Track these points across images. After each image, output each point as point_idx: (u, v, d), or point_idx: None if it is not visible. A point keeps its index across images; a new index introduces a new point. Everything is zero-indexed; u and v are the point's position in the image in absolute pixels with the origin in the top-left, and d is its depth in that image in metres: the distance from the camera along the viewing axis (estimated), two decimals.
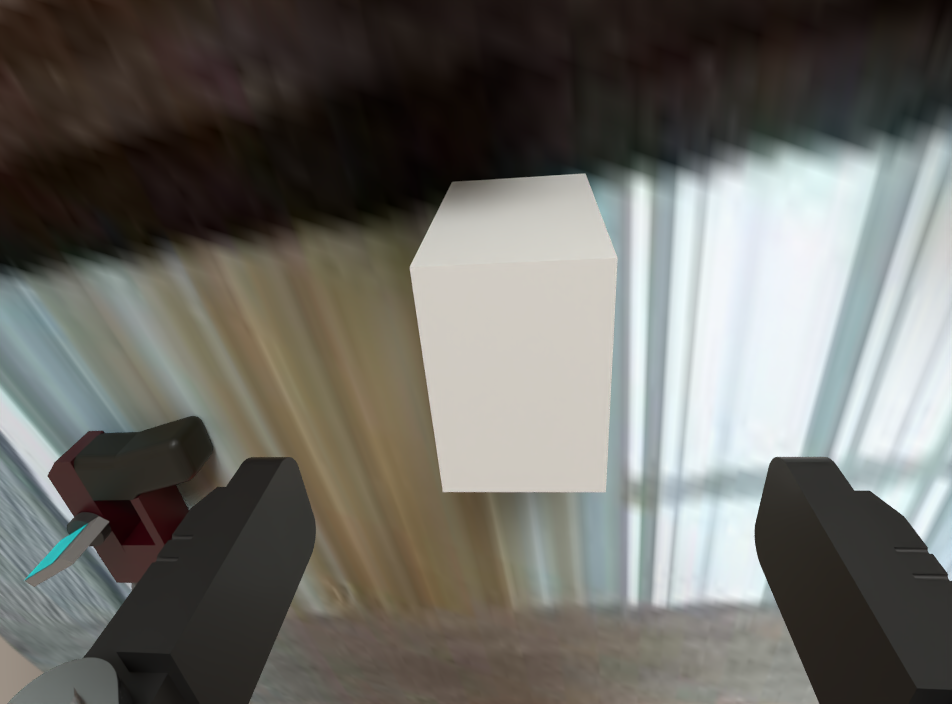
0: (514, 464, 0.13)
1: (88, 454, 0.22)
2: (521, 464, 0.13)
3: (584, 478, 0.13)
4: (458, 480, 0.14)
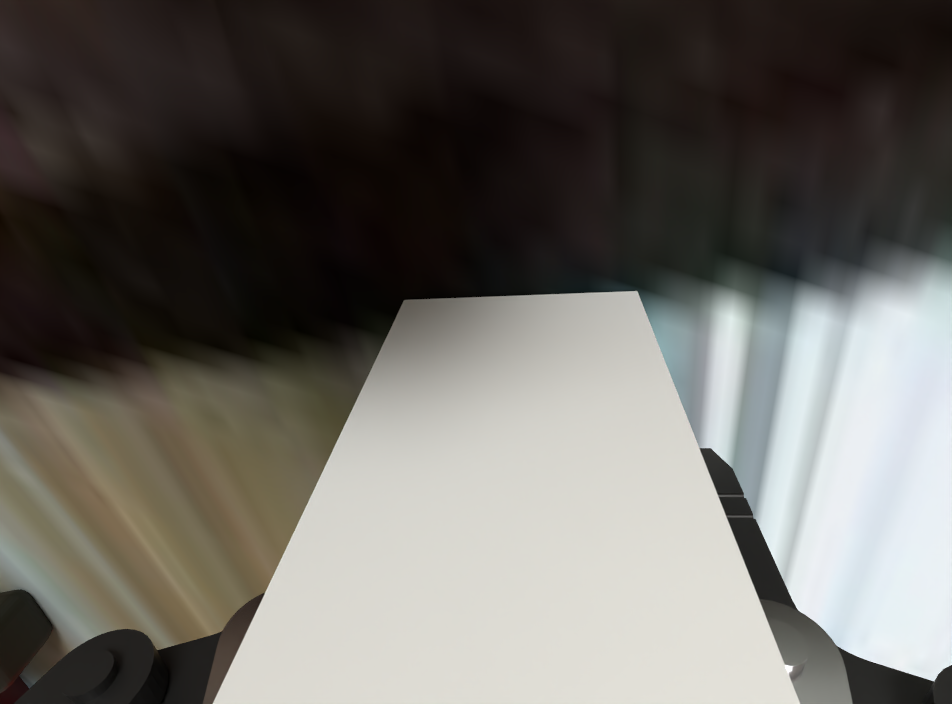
0: None
1: None
2: None
3: None
4: None
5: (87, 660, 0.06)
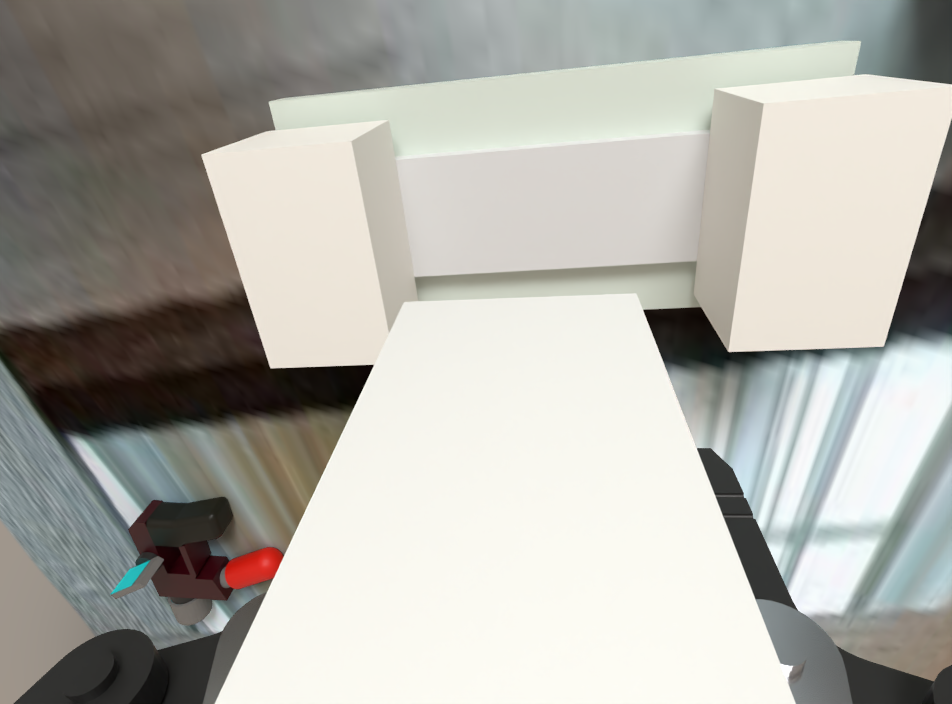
0: None
1: (155, 517, 0.36)
2: None
3: None
4: None
5: (88, 659, 0.06)
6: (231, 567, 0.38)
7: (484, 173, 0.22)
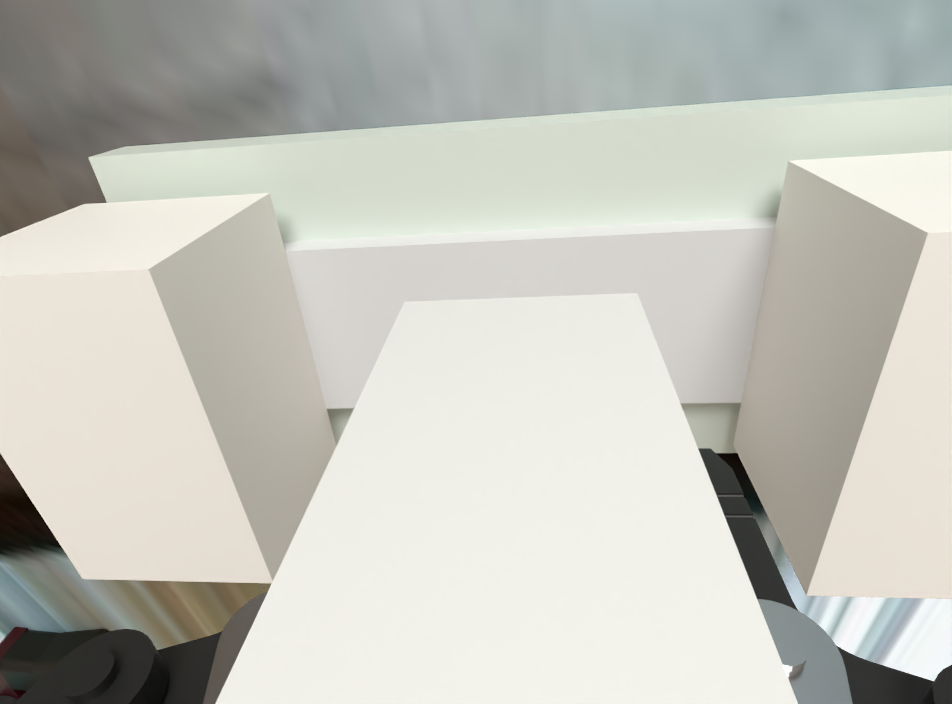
0: None
1: (11, 657, 0.27)
2: None
3: None
4: None
5: (87, 658, 0.06)
6: None
7: (422, 274, 0.14)
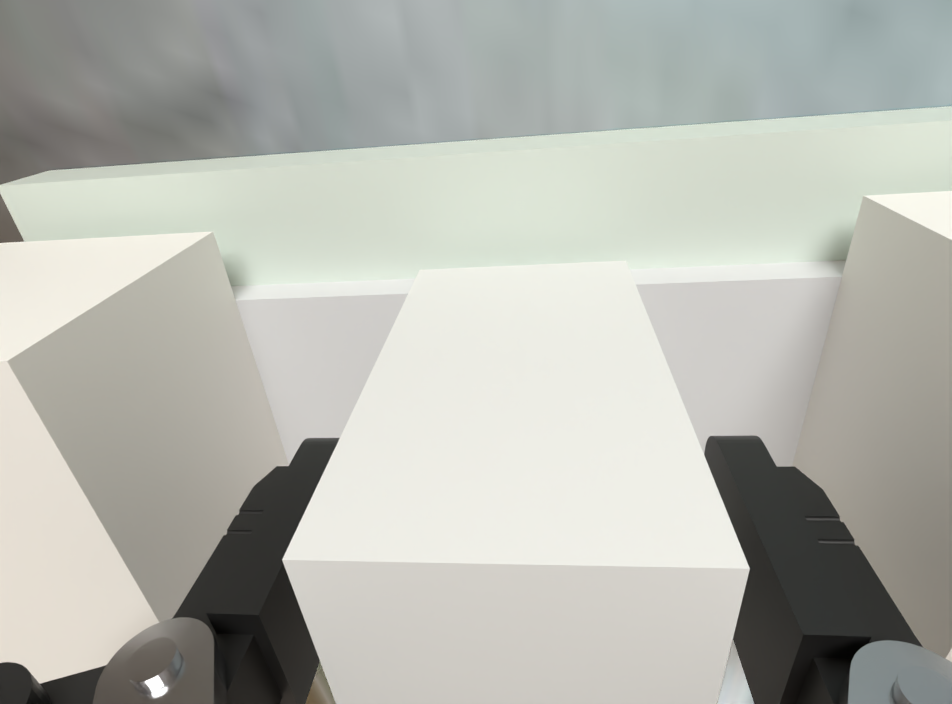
0: None
1: None
2: None
3: None
4: None
5: None
6: None
7: None
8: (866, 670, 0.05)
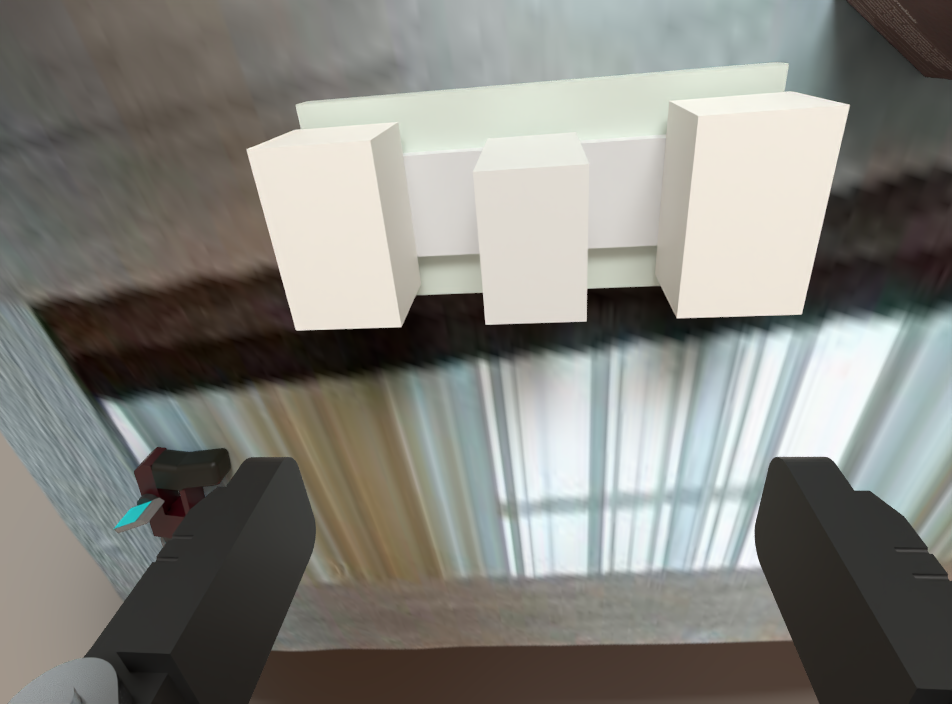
0: (530, 302, 0.22)
1: (160, 462, 0.39)
2: (534, 302, 0.22)
3: (573, 311, 0.22)
4: (495, 315, 0.22)
5: None
6: None
7: None
8: None
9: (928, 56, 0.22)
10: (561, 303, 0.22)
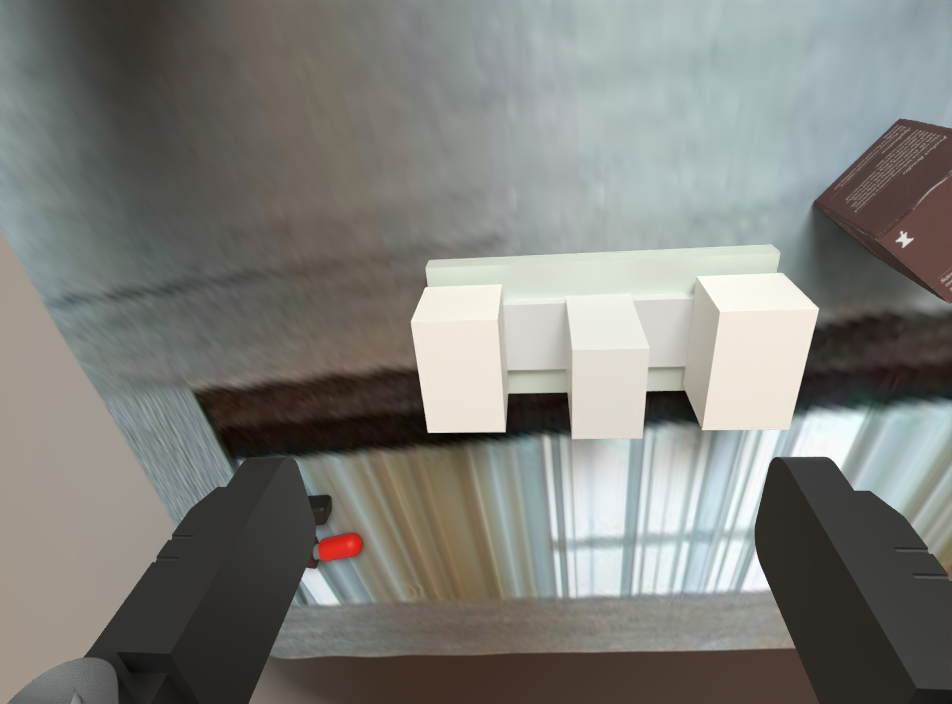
0: (604, 426, 0.32)
1: None
2: (607, 426, 0.32)
3: (633, 432, 0.32)
4: (579, 433, 0.32)
5: None
6: (323, 545, 0.51)
7: (557, 314, 0.36)
8: None
9: (875, 254, 0.33)
10: (625, 427, 0.32)
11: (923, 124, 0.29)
